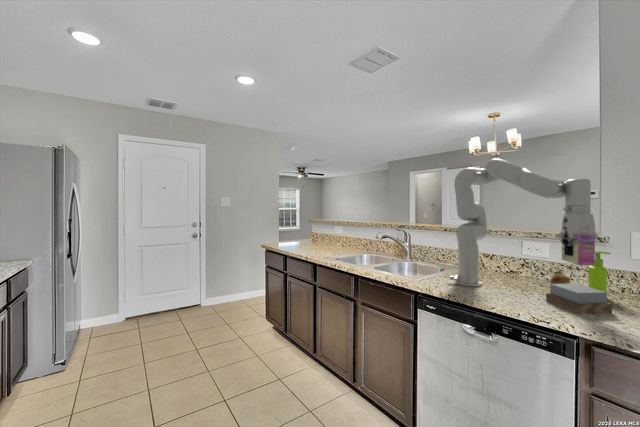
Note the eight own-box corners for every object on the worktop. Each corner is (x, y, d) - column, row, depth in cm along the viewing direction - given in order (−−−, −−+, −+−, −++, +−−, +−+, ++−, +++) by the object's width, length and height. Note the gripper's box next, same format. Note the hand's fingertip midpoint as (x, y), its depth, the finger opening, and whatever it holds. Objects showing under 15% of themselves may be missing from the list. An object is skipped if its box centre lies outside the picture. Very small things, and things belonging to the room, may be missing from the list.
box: (595, 265, 111) (595, 234, 111) (577, 265, 112) (578, 234, 112) (577, 260, 121) (577, 231, 121) (561, 260, 122) (561, 232, 122)
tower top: (578, 303, 111) (578, 293, 111) (550, 293, 124) (550, 283, 124) (606, 302, 111) (606, 292, 111) (576, 292, 124) (576, 283, 124)
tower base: (577, 315, 110) (578, 304, 110) (546, 302, 125) (546, 292, 125) (612, 314, 110) (612, 303, 110) (576, 301, 125) (576, 292, 125)
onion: (545, 286, 147) (546, 270, 146) (555, 284, 150) (555, 268, 149) (563, 290, 140) (563, 273, 139) (573, 288, 143) (573, 271, 143)
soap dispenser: (612, 300, 124) (612, 253, 124) (590, 297, 128) (590, 252, 128) (607, 296, 129) (608, 251, 129) (586, 294, 133) (587, 250, 133)
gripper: (564, 210, 112) (564, 257, 113) (608, 209, 113) (608, 256, 113) (548, 210, 120) (548, 254, 120) (590, 209, 120) (589, 253, 121)
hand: (577, 254), depth 117 cm, fingers closed on box, 6 cm apart
